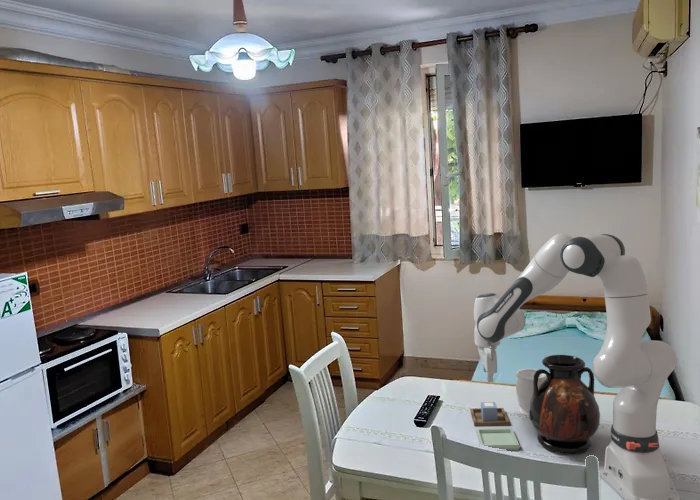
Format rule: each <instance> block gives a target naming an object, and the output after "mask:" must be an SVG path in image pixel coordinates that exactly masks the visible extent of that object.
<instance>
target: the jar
mask: <svg viewBox="0 0 700 500" xmlns="http://www.w3.org/2000/svg"><path fill="white" fill-rule="evenodd" d="M537 370H538V369H537V368H523V369H518V370H517V371H516V373H515V377H516V382H515V383H516V384H515V390H516V391H515V392H516V393H515V394H516V396H517V397H516V398H517V402H518V405H519V413H520V414H522V415H525V416H529V405H530V401H531V398H532V395H533V378H534V374H535V372H536V371H537ZM545 379H546V374H540V375H539V378H538V385H539V384H540V383H542V382H543V381H544V380H545Z"/></svg>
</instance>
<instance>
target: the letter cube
mask: <svg viewBox="0 0 700 500" xmlns="http://www.w3.org/2000/svg"><path fill="white" fill-rule="evenodd" d="M480 408H481V416H482V419H483V422H488V421H498V417H497V408H498V406H497V403H496V402H495V401H493V402H492V401H488V402H487V401H486V402H485V401H484V402H480Z"/></svg>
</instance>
